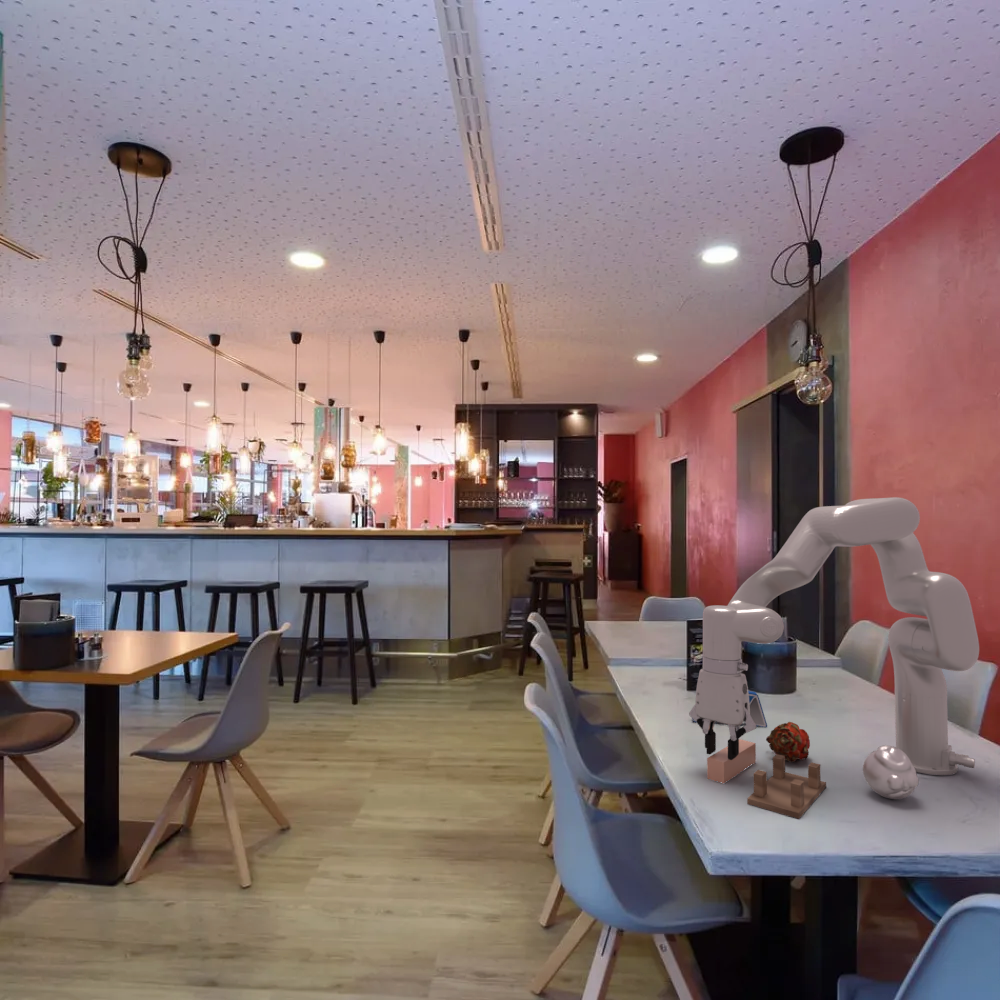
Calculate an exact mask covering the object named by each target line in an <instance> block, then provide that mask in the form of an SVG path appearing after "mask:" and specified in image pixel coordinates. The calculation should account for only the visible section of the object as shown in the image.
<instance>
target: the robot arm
mask: <svg viewBox="0 0 1000 1000" xmlns="http://www.w3.org/2000/svg"><path fill="white" fill-rule="evenodd" d="M920 520H921V515H920V511H919V510H918V508H917V506H916V505H915V504H914V502H912V501H910V500H909V499H906V498H903V497H899V496H898V497H897V496H895V497H892V496H891V497H878V498H875V497H874V498H860V499H855V500H852V501H849V502H847V503H845V504H844V505H831V506H830V505H829V506H828V505H826V506H825V505H824V506H818V507H813V508H812V509H810V510H809V511H807V513H805V515H804V516H803V517H802V518H801V520H800V521H799V523H798V524H797V525H796V527H795V528H794V530H793V531H792V533H791V534H790V535H789V537H788V538H787V540H786V541H785V543H784V544H783V546H782V547H781V548H780V550H779V551H778V553H777V554H776V555H775V557H774V558H772V560H771V561H769V562H767V563H766V564H765V565H763V566H762V567H761V568H760V569H759V570H757V571H756V572H754V573H753V574H752V575H750V577H748V578H747V579H746V580H745V581H744V582H743V583H742V584H741V585H740V586H739V588H738V589H737V591H736V592H735V594H734V595H733V596H732V598H731V599H730V601H729V602H728V604H727V605H716V604H714V605H708V606H705V608H704V609H703V612H702V668H701V669H700V670H699V674H698V678H697V683H696V689H695V703H694V705H693V706H692V708H691V710H690V711H689V713H688V715H689V717H690V718H691V719H692V718H693V719H694V720H695V721H696V722H695V723H696V724H697V725H699V727H700V729H701V730H702V733H703V734H704V748H705V749H706V754H707V755H708V756H709V755H710V756H711V754H712V755H713V754H714V753H716V751H717V750H716V749H717V745H716V744H717V734H716V731H714V727H715V722H716V723H721V724H725V725H728V731H729V739H728V740H727V746H728V759H729V760H733V759H734V758H735V757H736V756H737V755H738V754H739V739H740V738H741V737H742V736H744V735H745V734H747V733H749V732H753V731H755V729H757V726H756V724H755V723H754V721H753V719H752V717H751V716H750V704H749V694H748V691H749V687H748V681H747V677H746V674H745V673H742V672H744V671H745V672H746V671H748V669H749V665H748V664H747V663H745V662H743V659H742V648H741V647H742V642H745V643H747V642H748V643H753V644H755V643H756V644H766V645H767V644H771V643H774V642H775V641H777V640H779V638H781V637H782V635H783V634H784V633H783V632H784V629H785V624H784V620H783V618H782V617H781V616H780V614H779V613H777V612H776V611H775V610H773V609H771V608H769V607H767V606H768V605H769V604H770V603H771V602H772V601H773V600H774V599H776V598H777V597H778V596H780V595H782V594H784V593H786V592H788V591H791V590H794V589H798V588H800V587H803V586H804V585H807V584H809V583H810V582H812V581H813V580H814V578H815V576H816V575H817V574H818V572H819V571H820V570H821V568H822V566H823V565H824V564H825V563H826V561H827V559H828V558H829V557H830V555H831V554H832V553H833V550H834V549H835V548H836V547H848V548H849V547H850V548H851V547H863V546H871V548H872V549H873V551H874V552H875V554H876V556H877V560H878V563H879V568H880V571H881V577H882V582H883V586H884V590H885V595H886V599H887V601H888V604H889V605H890V606H891V608H893V609H894V610H897V611H898V612H902V613H906V614H911V615H916V616H921V617H915V616H913V617H912V616H911V617H909V616H908V617H903V618H900V619H898V620H896V621H895V622H894V623H892V625H891V627H890V629H889V631H888V636H887V637H888V639H887V640H888V641H887V642H888V646H889V653H890V654H891V658H892V667H893V673H894V674H893V676H894V716H895V717H894V719H895V721H894V723H895V747H897V748H899V749H900V750H902V751H903V752H904V753H905V754H906V755H907V756H908V758H909V759H910V761H911V763H912V765H913V766H914V768H915V771H916V773H920V774H925V775H933V776H951V775H954V774H957V773H958V772H959V771H958V770H959V767H958V766H962V767H965V768H971V769H975V768H976V767H975V766H976V761H975V760H976V759H975V758H972V757H969V755H968V754H967V755H966V754H963V753H961V754H960V753H956V752H955V751H953V749H952V745H950V744H949V730H948V729H949V726H948V725H949V724H948V723H949V722H948V687H947V686H948V685H947V681H946V676H945V674H944V671H943V670H947V671H951V672H965V671H968V670H970V669H971V668H973V667H974V666H975V665H976V663H977V661H978V659H979V656H980V655H979V654H980V642H979V637H978V631H977V627H976V622H975V617H974V612H973V607H972V603H971V599H970V597H969V594H968V591H967V589H966V587H965V586H964V584H963V583H962V581H960V580H959V579H958V578H957V577H955V576H954V575H951V574H949V573H944V572H939V571H930V570H929V568H928V566H927V562H926V560H925V555H924V552H923V548H922V545H921V543H920V541H919V540H918V537H917V536H916V534H914V532H916V530H917V528H918V527H919V524H920V522H921V521H920ZM923 617H926V618H923ZM744 723H745V725H743V724H744ZM741 725H743V726H741Z"/></svg>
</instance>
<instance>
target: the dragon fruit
mask: <svg viewBox="0 0 1000 1000" xmlns="http://www.w3.org/2000/svg"><path fill="white" fill-rule="evenodd" d="M765 741H766V742H767V743H769V745H768V746H769V749H770V750H771V751H773V753H775V755H776V754H778V755H782V756H785V761H788V762H789V761H790V763H794V762H796V760H807V759H808V757H809V753H810V752H809V749H810V747H811V743H810V742H811V739H810V736H809V734H808V733H807V731H806V730H805V729H804V728H800V727H799V725H798V724H797V723H794V722H793V721H787V722H785V723H781V724H778V725H777V726H775V727H774V728H773V729H772V730H771V731H770V734H769V735H768V736H767V737H766V739H765Z"/></svg>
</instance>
